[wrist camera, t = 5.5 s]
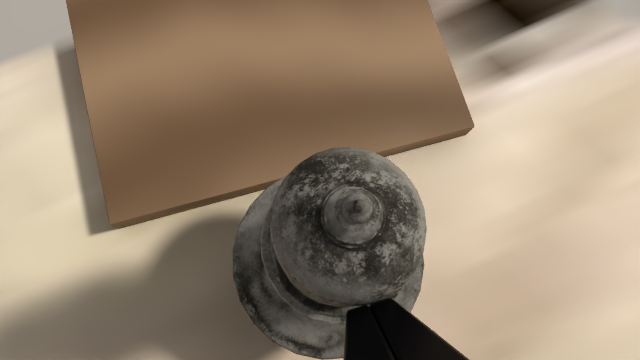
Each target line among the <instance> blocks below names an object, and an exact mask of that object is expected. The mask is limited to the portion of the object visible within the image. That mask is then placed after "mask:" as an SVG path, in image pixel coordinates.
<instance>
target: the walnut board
mask: <svg viewBox="0 0 640 360" xmlns="http://www.w3.org/2000/svg"><path fill="white" fill-rule="evenodd" d="M66 3H67V8H68V13H69V18H70V23H71V29H72V34H73V39H74V44H75V49H76V54H77V59H78V64H79V69H80V74H81V80H82V85H83V90H84V95H85V100H86V105H87V110H88V115H89V120H90V125H91V131H92V136H93V141H94V146H95V151H96V156H97V161H98V166H99V171H100V177H101V182H102V187H103V192H104V197H105V202H106V207H107V212H108V217H109V222H110V225H113V226H115V227H118V228H123V227H126V226H130V225H134V224H137V223H141V222H145V221H148V220H152V219H156V218H160V217H163V216H167V215H171V214H174V213H178V212H182V211H185V210H189V209H193V208H197V207H200V206H204V205H208V204H211V203H215V202H219V201H222V200H226V199H230V198H234V197H237V196H241V195H245V194H248V193H252V192H256V191H259V190H263V189H266V188H267V187H269V186H270V185H272V184H273V183H275V182H277V181H278V180H280V179H281V178H283V177H285V176H286V175H288V174H289V173H290V172H291V171H292V170H293V169H294V168H295V167H296V166H297V165H298V164H299V163H301V162H302V161H304V160H305V159H307V158H309V157H310V156H312V155H313V154H315V153H318V152H321V151H325V150H328V149H331V148H342V147H355V148H359V149H364V150H368V151H372V152H374V153H376V154H378V155H380V156H382V157H385V156H389V155H393V154H396V153H400V152H404V151H407V150H411V149H415V148H419V147H422V146H426V145H430V144H433V143H437V142H441V141H444V140H448V139H452V138H455V137H459V136H463V135H466V134H467V133H468V132H469V131H470V130H471V129H472V128H473V127H474V123H473V121H472V118H471V115H470V113H469V110H468V107H467V105H466V102H465V99H464V97H463V94H462V91H461V89H460V86H459V83H458V81H457V78H456V75H455V73H454V70H453V67H452V65H451V62H450V59H449V57H448V54H447V51H446V49H445V46H444V43H443V41H442V38H441V35H440V33H439V30H438V27H437V25H436V22H435V19H434V17H433V14H432V11H431V9H430V6H429V3H428V1H427V0H66Z"/></svg>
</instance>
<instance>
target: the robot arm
mask: <svg viewBox="0 0 640 360" xmlns="http://www.w3.org/2000/svg"><path fill="white" fill-rule="evenodd" d="M344 360H469V359H468V358H467V357H465V356H464V355H463V354H462V353H460V352H459V351H458V350H456V349H455V348H454V347H453V346H451V345H450V344H449V343H448V342H446V341H445V340H444V339H443V338H441V337H440V336H439V335H438V334H436V333H435V332H434V331H433V330H431V329H430V328H429V327H428V326H426V325H425V324H424V323H423V322H421V321H420V320H419V319H418V318H416V317H415V316H414V315H413V314H411V313H410V312H409V311H408V310H406V309H405V308H404V307H402V306H401V305H400V304H399V303H397V302H396V301H395V300H393V299H391V298H386V299H383V300H380V301H377V302H373V303H371V304H370V306H367V305H363V306H360V307H357V308H353V309H350V310H348V311H347V313H346V325H345V343H344Z"/></svg>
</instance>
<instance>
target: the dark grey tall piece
mask: <svg viewBox="0 0 640 360" xmlns="http://www.w3.org/2000/svg"><path fill="white" fill-rule="evenodd" d="M426 230H427V228H426V220H425V211H424V207H423V204H422V202H421V199H420V197H419V194H418V192H417V189H416V188H415V187H414V185H413V184H412V182H411V181H410V180H409V178H408V177H407V175H406V174H405V173H404V172H403V171H402V170H401V169H399V168H398V167H397V166H396V165H395V164H394V163H392V162H391V161H390V160H388V159H386V158H384V157H382V156H380V155H378V154H376V153H374V152H372V151H368V150H364V149H359V148H355V147H342V148H331V149H328V150H325V151H321V152H318V153H315V154H313V155H312V156H310V157H309V158H307V159H305V160H304V161H302V162H301V163H299V164H298V165H297V166H296V167H295V168H294V169H293V170H292V171H291V172H290V173H289V174H288V175H286V176H285V177H283V178H281V179H280V180H278V181H277V182H275V183H273V184H272V185H270V186H269V187H267V188H266V189H265V190H264V191H263V192H262V194H261V195H260V196H259V197H258V198H257V199H256V200H255V201H254V202H253V203H252V204H251V205H250V207H249V209H248V211H247V213H246V214H245V216H244V218H243V220H242V222H241V224H240V225H239V228H238V232H237V236H236V240H235V244H234V248H233V277H234V281H235V284H236V288H237V291H238V295H239V298H240V302H241V303H242V305H243V307H244V308H245V310H246V311H247V313H248V315H249V316H250V318H251V320H252V321H253V323H254V324H255V325H256V326H257V327H258V328H259V329H260V330H261V331H262V332H263V333H264V334H265V335H266V336H267V337H269V338H270V339H271V340H272V341H273V342H274V343H276V344H278V345H280V346H282V347H284V348H286V349H288V350H290V351H292V352H293V353H295V354H299V355H303V356H308V357H313V358H317V359H337V358H344V343H345V325H346V313H347V311H348V310H350V309H353V308H357V307H360V306H363V305H367V306H370V304H371V303H373V302H377V301H380V300H383V299H386V298H391V299H393V300H395V301H396V302H397V303H399V304H400V305H401V306H402V307H404V308H405V309H406V310H408V311H409V312H410V313H411V311H412V308H413V306H414V304H415V301H416V299H417V297H418V295H419V292H420V289H421V283H422V276H423V269H424V260H423V251H424V244H425V237H426Z"/></svg>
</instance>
